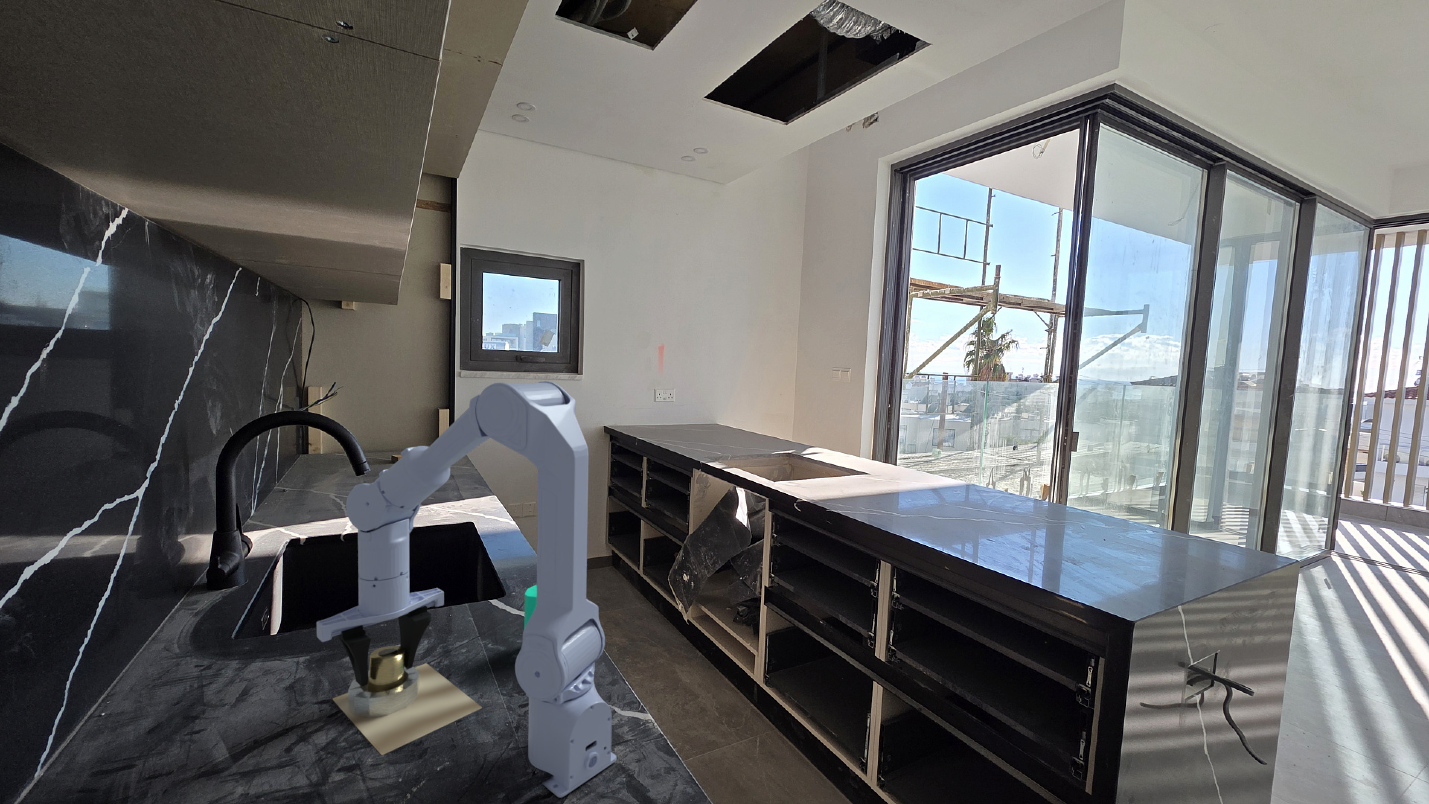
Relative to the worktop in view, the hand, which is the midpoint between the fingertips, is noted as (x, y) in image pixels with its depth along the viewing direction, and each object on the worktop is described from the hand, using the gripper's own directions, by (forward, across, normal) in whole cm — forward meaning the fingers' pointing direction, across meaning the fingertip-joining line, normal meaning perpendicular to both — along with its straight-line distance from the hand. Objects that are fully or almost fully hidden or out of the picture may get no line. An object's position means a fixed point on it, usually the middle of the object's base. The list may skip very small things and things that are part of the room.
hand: (384, 673), depth 74 cm
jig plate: (+4, -2, +3) cm, 6 cm away
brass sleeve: (+3, 0, 0) cm, 3 cm away
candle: (+5, -22, +4) cm, 22 cm away
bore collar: (+4, 0, 0) cm, 4 cm away
